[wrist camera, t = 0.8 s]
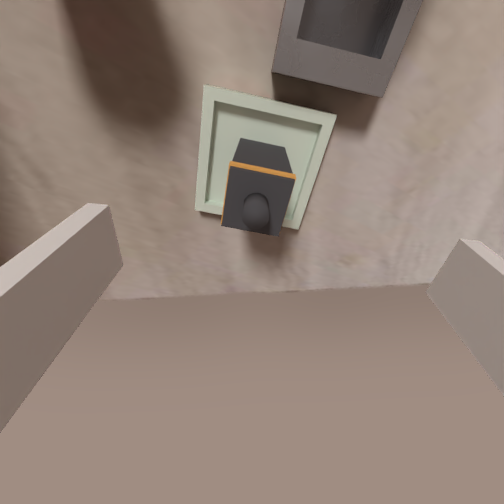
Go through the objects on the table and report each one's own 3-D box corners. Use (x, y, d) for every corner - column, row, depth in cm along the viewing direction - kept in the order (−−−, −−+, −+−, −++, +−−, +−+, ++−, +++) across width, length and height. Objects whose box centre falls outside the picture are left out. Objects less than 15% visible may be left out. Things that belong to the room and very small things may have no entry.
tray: (197, 204, 30) (194, 209, 29) (207, 84, 23) (203, 84, 22) (296, 223, 31) (298, 229, 30) (333, 113, 24) (337, 115, 23)
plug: (232, 182, 28) (216, 240, 18) (239, 136, 25) (224, 175, 15) (274, 190, 28) (281, 252, 18) (285, 146, 26) (300, 190, 16)
